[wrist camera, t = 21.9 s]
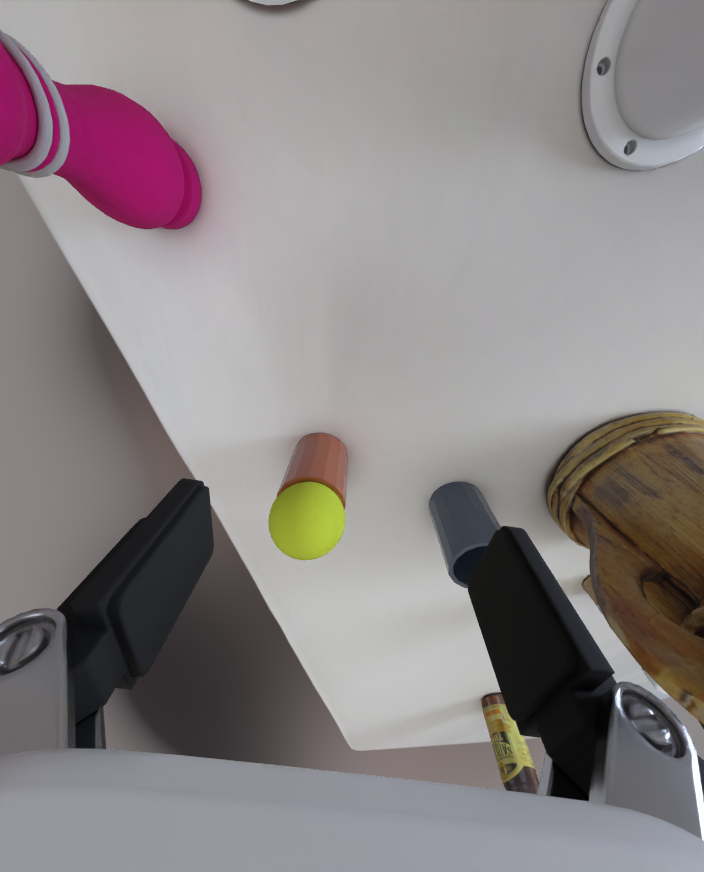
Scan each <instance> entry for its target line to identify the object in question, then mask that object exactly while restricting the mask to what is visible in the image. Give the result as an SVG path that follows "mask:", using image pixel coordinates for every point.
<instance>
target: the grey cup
mask: <svg viewBox="0 0 704 872" xmlns="http://www.w3.org/2000/svg"><path fill="white" fill-rule="evenodd" d="M429 510H430V515H431V518H432V521H433V525H434V528H435V531H436V534H437V538H438V541H439V544H440V547H441V551H442V554H443V557H444V560H445V564H446V567H447V570H448V573H449V576H450V577H451V578H452V580H453V581H454V582H455V583H456V584H458V585H460V586H462V587H464V588H468V582H469V579H470V578H471V576H472V574H473V572H474V570H475V568H476V566H477V565H478V563H479V561H480V559H481V557H482V555H483V553H484V551H485V550H486V548H487V546H488V544H489V542H490V540H491V538H492V537H493V535H494V533H495V531H496V530H500V529H501V526H500V525H499V523H498V521H497V520H496V518H495V516H494V514H493V513H492V511H491V509H490V507H489V506H488V504H487V502H486V501H485V499H484V497H483V495H482V494H481V492H480V491H479V489H478V488H476V487H475V486H474V485H472V484H469V483H465V482H453V483H449V484H446V485H444V486H442V487H440V488H439V489H438V490H436V491H435V492H434V493H433V495H432V496H431V498H430V501H429Z"/></svg>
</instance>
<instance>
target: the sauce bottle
mask: <svg viewBox="0 0 704 872" xmlns="http://www.w3.org/2000/svg"><path fill="white" fill-rule="evenodd" d="M482 707H483V713H484V717H485V720H486V724H487V728H488V731H489V735H490V738H491V742H492V746H493V749H494V753H495V757H496V760H497V764H498V767H499V771H500V775H501V779H502V782H503V784H504V786H505V788H506V790H507V791H514V792H523V793H531V794H537V790H538V786H539V781H538V778H537V775H536V771H535V767H534V764H533V761H532V759H531V756H530V753H529V750H528V747H527V744H526V741H525V738H524V736H523V735H520V733H519V730H518V727H517V724H516V722H515V721H514V720H513V719H512V718H511V717H510V715H509V714H508V711H507V708H506V705H505V702H504V699H503V696H502V694H494V695H489V696H487V697H485V698H483V700H482Z"/></svg>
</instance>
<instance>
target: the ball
mask: <svg viewBox="0 0 704 872" xmlns="http://www.w3.org/2000/svg"><path fill="white" fill-rule="evenodd" d="M344 526H345V512H344V508H343V505H342V503H341V501H340V499H339V497H338V496H337V495H336V494H335V493H334V491H332V490H331V489H330V488H328V487H327V486H325V485H323V484H320V483H317V482H300V483H296V484H294V485H292V486H290V487H288V488H286V489H285V490H284V491H283V492H282V493H280V495H279V496H278V497H277V498H276V500H275V501H274V503H273V505H272V508H271V510H270V514H269V531H270V534H271V537H272V539H273V541H274V543H275V544H276V546H277V547H278V548H279V549H280V550H281V551H282V552H283V553H284V554H286V555H288V556H290V557H292V558H295V559H299V560H312V559H316V558H319V557H321V556H323V555H325V554H327V553H328V552H329V551H331V550H332V549H333V548H334V547H335V546H336V544H337V543H338V542H339V540H340V538H341V536H342V534H343V531H344Z"/></svg>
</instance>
